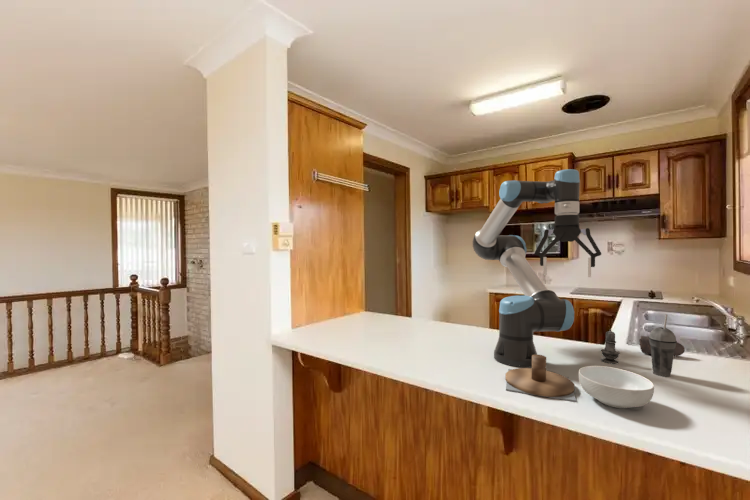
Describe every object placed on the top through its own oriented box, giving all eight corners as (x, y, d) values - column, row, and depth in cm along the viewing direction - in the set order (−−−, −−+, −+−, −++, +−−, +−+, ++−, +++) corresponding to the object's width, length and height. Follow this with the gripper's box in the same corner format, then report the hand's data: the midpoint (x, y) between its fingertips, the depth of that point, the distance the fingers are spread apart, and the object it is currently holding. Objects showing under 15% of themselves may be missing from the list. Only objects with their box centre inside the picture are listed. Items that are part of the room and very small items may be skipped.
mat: (505, 390, 102) (505, 389, 102) (508, 369, 119) (508, 368, 119) (576, 401, 95) (576, 400, 95) (568, 378, 112) (568, 377, 112)
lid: (503, 389, 102) (504, 361, 102) (507, 368, 119) (507, 344, 119) (578, 402, 94) (578, 371, 94) (570, 377, 111) (570, 351, 111)
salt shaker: (622, 364, 125) (623, 331, 125) (604, 363, 126) (605, 330, 126) (615, 359, 131) (615, 327, 130) (597, 358, 132) (598, 326, 131)
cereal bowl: (583, 409, 91) (584, 382, 91) (573, 385, 106) (574, 362, 106) (664, 422, 84) (665, 393, 84) (641, 395, 100) (642, 370, 100)
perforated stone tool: (681, 355, 136) (682, 337, 136) (688, 359, 131) (688, 341, 131) (635, 351, 141) (635, 334, 141) (639, 354, 136) (640, 337, 136)
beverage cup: (642, 370, 119) (643, 312, 119) (661, 370, 120) (663, 312, 119) (661, 378, 112) (662, 316, 111) (682, 378, 112) (683, 316, 112)
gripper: (526, 215, 125) (526, 275, 125) (610, 211, 111) (610, 278, 111) (529, 217, 131) (529, 274, 131) (609, 214, 117) (609, 277, 117)
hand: (566, 276), depth 121 cm, fingers open, 13 cm apart
